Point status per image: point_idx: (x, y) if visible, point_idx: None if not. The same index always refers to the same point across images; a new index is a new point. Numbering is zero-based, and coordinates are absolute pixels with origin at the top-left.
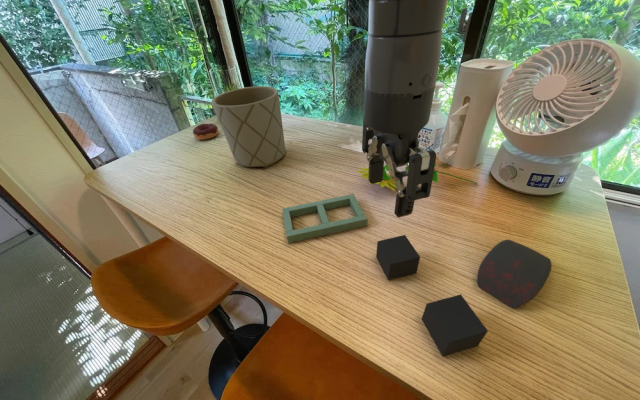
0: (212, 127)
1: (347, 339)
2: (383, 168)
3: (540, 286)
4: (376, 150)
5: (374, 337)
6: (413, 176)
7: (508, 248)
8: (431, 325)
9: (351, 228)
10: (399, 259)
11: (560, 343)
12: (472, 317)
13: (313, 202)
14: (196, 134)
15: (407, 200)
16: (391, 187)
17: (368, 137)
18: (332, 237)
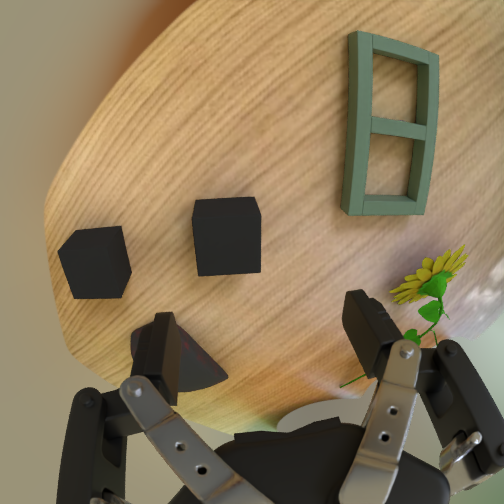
0: None
1: (105, 104)
2: (358, 357)
3: None
4: (362, 434)
5: (102, 147)
6: (61, 475)
7: (198, 377)
8: (95, 236)
9: (344, 174)
10: (200, 239)
11: (98, 342)
12: (88, 293)
13: (436, 123)
14: None
15: (90, 388)
16: (399, 289)
17: (459, 407)
18: (335, 126)
